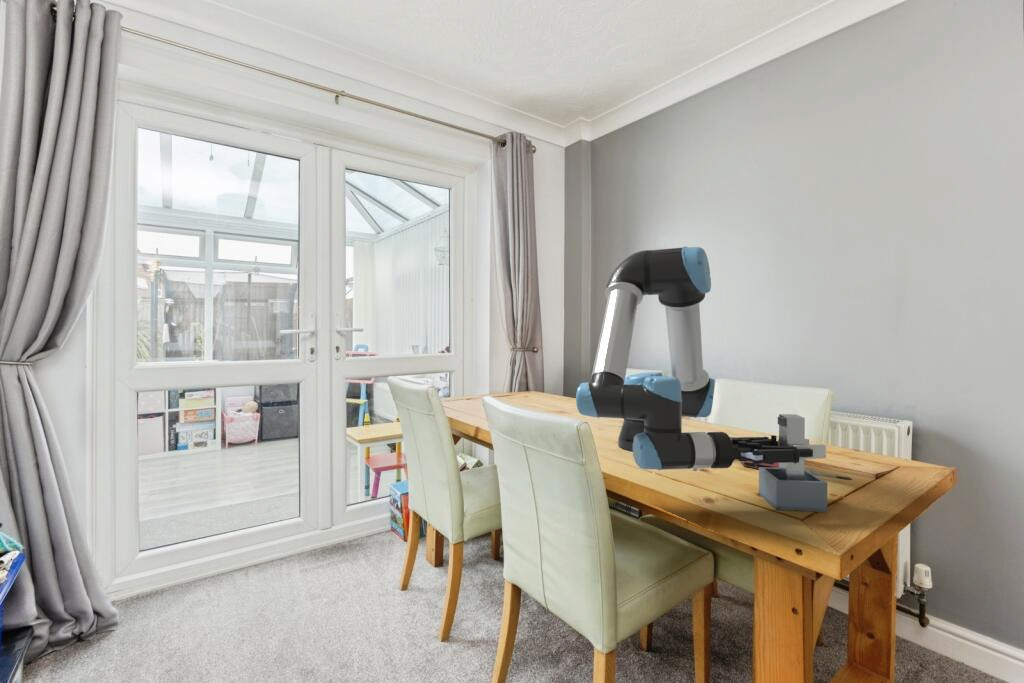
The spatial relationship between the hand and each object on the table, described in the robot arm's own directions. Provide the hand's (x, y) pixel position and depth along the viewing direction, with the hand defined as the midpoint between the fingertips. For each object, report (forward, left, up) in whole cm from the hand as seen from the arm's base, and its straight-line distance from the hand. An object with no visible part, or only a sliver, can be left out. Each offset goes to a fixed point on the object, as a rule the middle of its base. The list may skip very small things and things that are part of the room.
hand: (815, 448), depth 101 cm
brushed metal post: (+1, -5, -9) cm, 10 cm away
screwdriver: (-19, +3, -12) cm, 23 cm away
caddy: (+1, -5, -12) cm, 13 cm away
